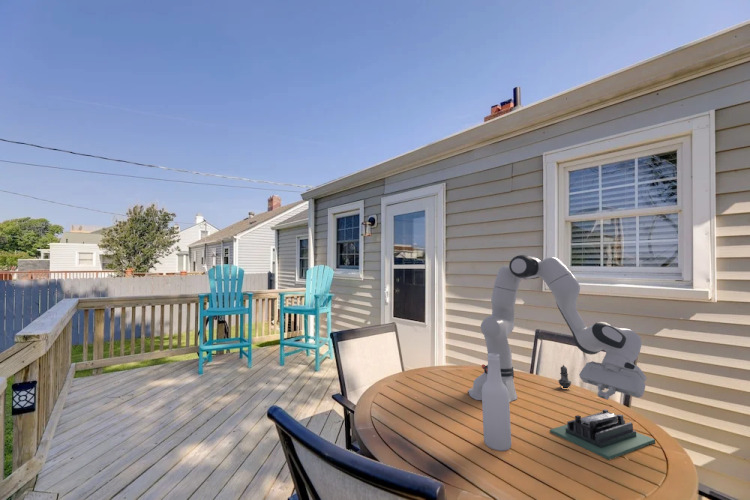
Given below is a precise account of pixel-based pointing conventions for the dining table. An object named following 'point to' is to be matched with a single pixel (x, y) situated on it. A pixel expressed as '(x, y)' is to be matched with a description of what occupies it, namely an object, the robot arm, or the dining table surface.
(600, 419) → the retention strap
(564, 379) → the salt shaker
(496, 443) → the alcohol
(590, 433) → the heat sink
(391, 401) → the dining table surface
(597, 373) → the robot arm
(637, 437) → the circuit board
